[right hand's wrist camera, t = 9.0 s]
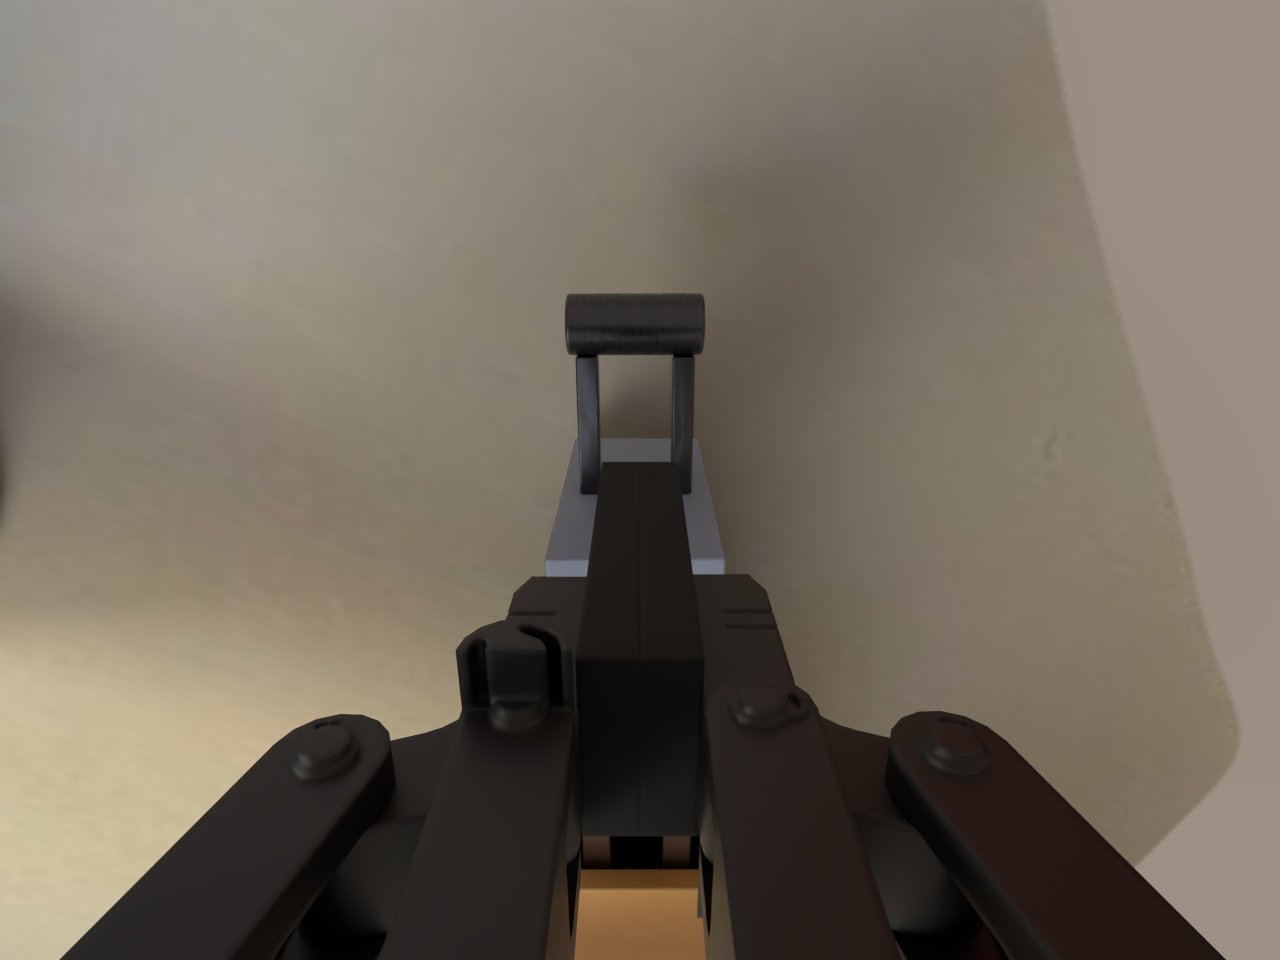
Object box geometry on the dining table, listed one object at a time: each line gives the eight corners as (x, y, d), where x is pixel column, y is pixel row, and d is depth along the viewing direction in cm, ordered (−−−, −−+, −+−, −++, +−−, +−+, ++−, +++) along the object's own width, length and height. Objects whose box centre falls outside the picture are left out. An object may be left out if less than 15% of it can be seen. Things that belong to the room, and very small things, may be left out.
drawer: (569, 273, 24) (530, 322, 15) (702, 273, 24) (736, 321, 15) (589, 829, 33) (572, 1053, 24) (687, 829, 33) (703, 1053, 24)
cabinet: (570, 657, 30) (536, 889, 20) (705, 656, 30) (737, 889, 20) (584, 976, 38) (564, 1264, 28) (693, 976, 38) (713, 1264, 28)
